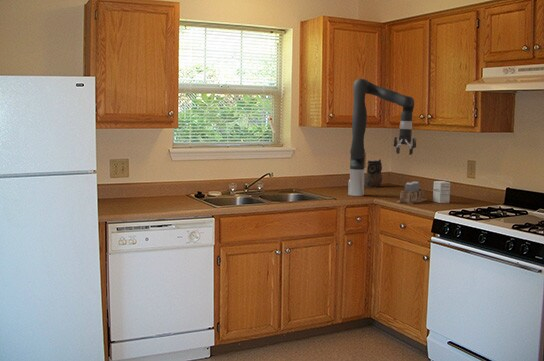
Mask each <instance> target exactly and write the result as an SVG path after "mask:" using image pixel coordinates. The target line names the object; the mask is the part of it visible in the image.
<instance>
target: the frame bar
mask: <svg viewBox="0 0 544 361" xmlns="http://www.w3.org/2000/svg"><path fill="white" fill-rule="evenodd" d="M420 186H421V183H420V182H419V181H411V182H406V184H404V191H408V192H411V193H413V192H417V191H420V189H421V187H420Z"/></svg>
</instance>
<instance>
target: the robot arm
mask: <svg viewBox="0 0 544 361" xmlns="http://www.w3.org/2000/svg"><path fill="white" fill-rule="evenodd" d="M352 89H353V90H352V91H353V104H352V106H353V108H352V117H351V118H352V120H351V130H352V137H351V138H352V141H351V144H350V151H349V153H350V162H349V163H350V164H349V180H348V185H347V186H348V188H347V189H348V190H347V194H348V196H355V197H362V196H363V197H364V195H365V193H364V192H365V191H364V190H365V189H364V188H365V164H366V163H365V159H366V150H365V149H366V148H365V134H366V128H367V124H368V123H367V120H368V114H367V113H368V112H367V107H366V106H367V105H366V101H365V100H366V95H371V96H375V97H378V98H380V99H382V100H384V101H387V102H390V103H392V104H396V105H398V106H400V107H402V112H401V113H400V121H399V122H400V123H399V132H398V134H399V137H398V136H395V137H394V139H393V147H395V148H396V151H395V153H396V154H397V155H398V154H400V152H401V150H400V149H401V148H400V147H401V146H402V145H406V146H408V147H409V151H408V152H409V154H408V155H410V156H412V155H413V154H414V149H415V148H417V138H416V137H415V138H414V137H413V138H412V134H413V131H412V130H413V113H414V110H415V109H414V108H415V99H414V98H413V97H412V96H409V95H405V94H401V93H399V92H398V91H394V90H392V89H388V88H384V87H381V86H378V85H376V84H374V83H372V82H370V81H369V80H367V79H364V78H358V79H355V81H354V82H353V88H352Z"/></svg>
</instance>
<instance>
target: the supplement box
mask: <svg viewBox="0 0 544 361" xmlns="http://www.w3.org/2000/svg"><path fill="white" fill-rule="evenodd" d="M432 190H433V192H432V202H434V203H438V204H449V203H450V197H451V196H450V194H451V182H449V181H444V180H435V181H433V189H432Z"/></svg>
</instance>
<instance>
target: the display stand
mask: <svg viewBox="0 0 544 361" xmlns="http://www.w3.org/2000/svg"><path fill="white" fill-rule="evenodd" d="M423 197H424V190H423V188H420V191H417V192H413V193H411V192H408V191H405V190H401V191H400V193H399V200H396V203H398V204H406V205H414V203H415V204H418V203H422V202H425V201H426V200H427V199H426V198H423Z"/></svg>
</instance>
